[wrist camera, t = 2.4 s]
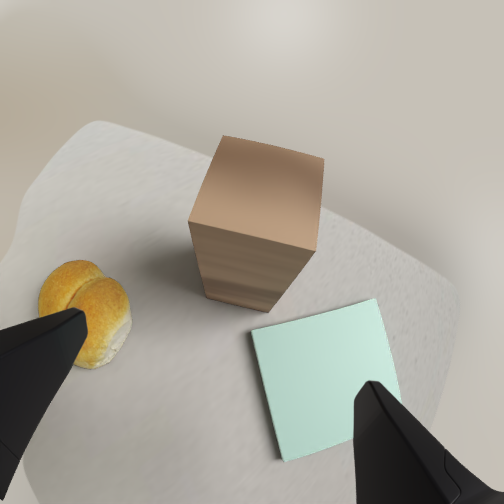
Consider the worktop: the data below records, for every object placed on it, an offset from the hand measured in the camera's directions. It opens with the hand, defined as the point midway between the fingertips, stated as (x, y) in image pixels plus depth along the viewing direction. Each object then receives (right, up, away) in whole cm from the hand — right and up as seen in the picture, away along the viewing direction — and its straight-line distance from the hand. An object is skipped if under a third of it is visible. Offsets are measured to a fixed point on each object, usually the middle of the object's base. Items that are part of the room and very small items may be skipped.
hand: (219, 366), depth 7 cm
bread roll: (-13, -2, +13) cm, 18 cm away
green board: (+7, -7, +12) cm, 16 cm away
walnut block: (0, +1, +15) cm, 15 cm away
